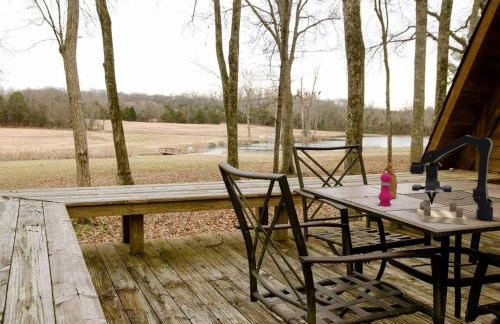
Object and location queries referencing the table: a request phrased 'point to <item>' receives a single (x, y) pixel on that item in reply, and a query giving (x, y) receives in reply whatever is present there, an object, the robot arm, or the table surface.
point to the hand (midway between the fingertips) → (431, 204)
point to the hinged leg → (424, 204)
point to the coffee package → (393, 180)
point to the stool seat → (442, 215)
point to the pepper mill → (385, 190)
